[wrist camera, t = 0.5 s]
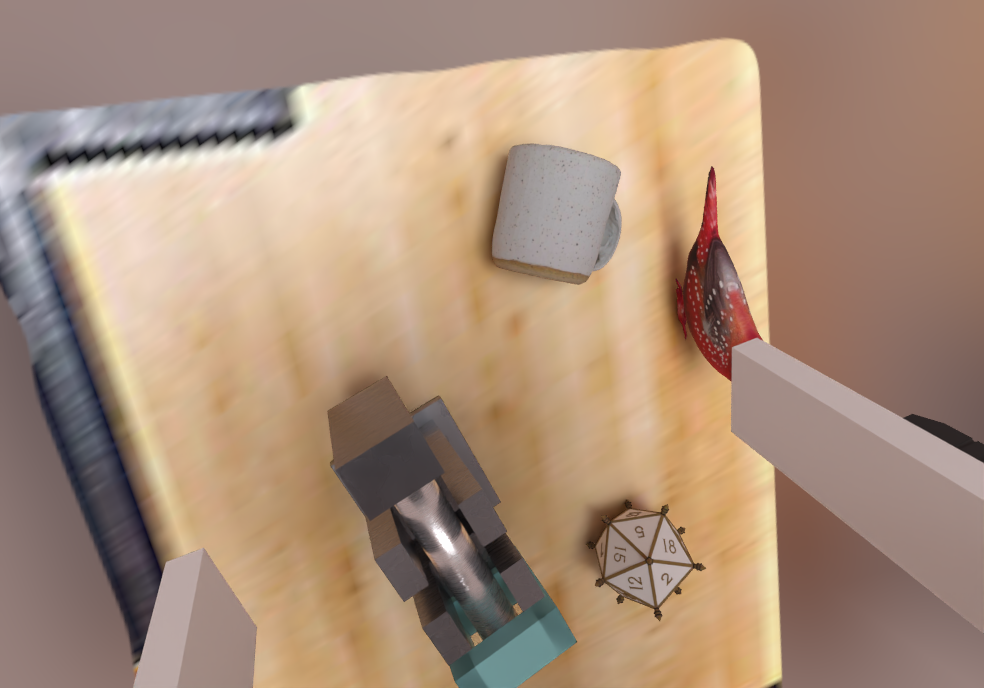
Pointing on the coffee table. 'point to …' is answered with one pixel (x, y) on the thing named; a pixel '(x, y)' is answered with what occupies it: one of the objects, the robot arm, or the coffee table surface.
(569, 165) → the ceramic mug
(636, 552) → the game die
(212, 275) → the coffee table surface
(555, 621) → the frame
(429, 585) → the stand
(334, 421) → the grey piece
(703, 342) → the decorative bird figurine
